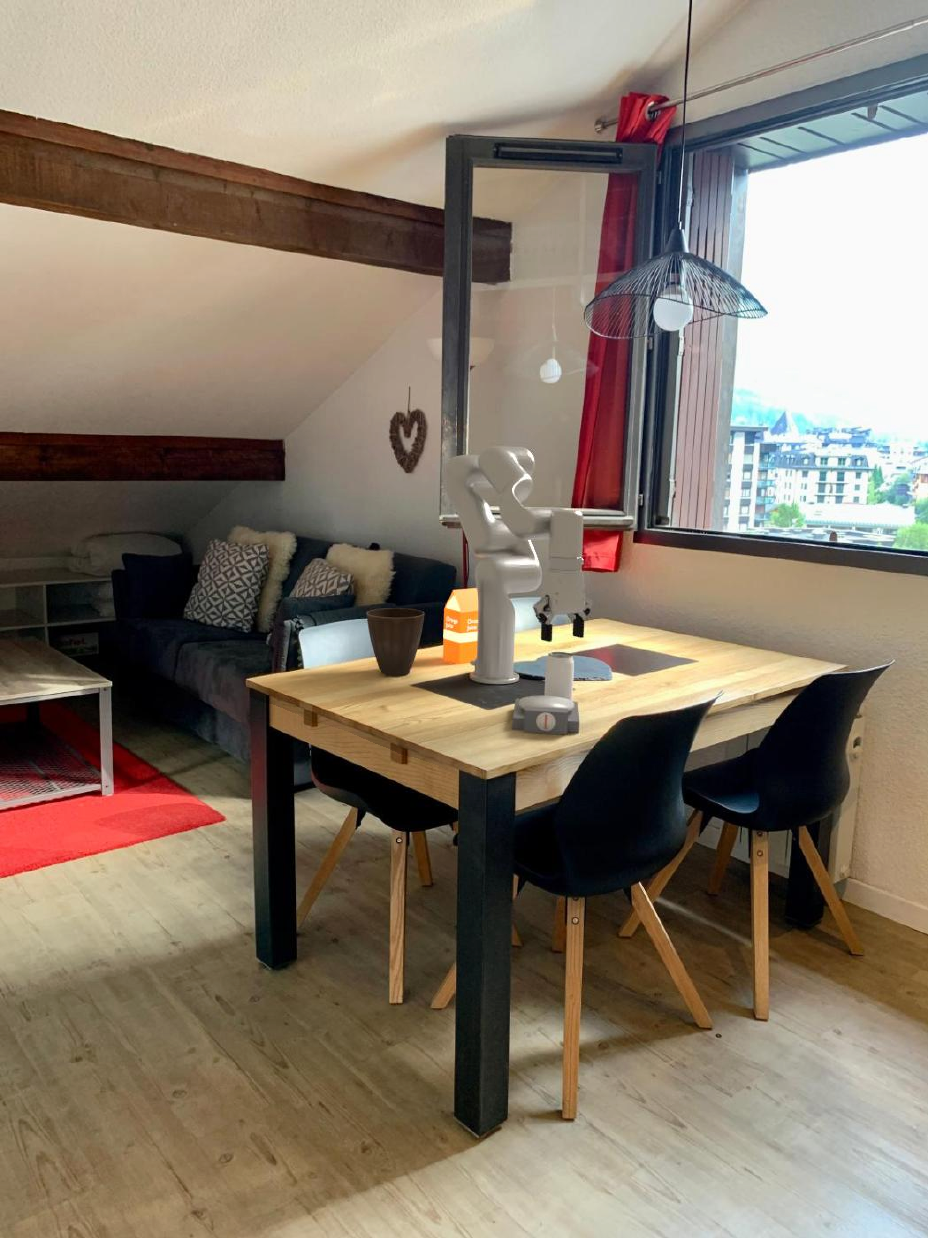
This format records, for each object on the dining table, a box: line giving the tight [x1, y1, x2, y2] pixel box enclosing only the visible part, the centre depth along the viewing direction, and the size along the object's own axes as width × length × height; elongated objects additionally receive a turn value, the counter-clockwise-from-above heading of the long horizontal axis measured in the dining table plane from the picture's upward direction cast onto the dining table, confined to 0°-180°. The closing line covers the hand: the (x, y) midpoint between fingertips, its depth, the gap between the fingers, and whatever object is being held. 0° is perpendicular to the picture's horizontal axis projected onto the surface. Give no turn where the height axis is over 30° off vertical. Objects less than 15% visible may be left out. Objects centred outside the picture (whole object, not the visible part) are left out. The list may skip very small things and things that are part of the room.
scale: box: [511, 695, 580, 735], centre depth 206 cm, size 18×14×5 cm
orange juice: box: [442, 587, 478, 665], centre depth 263 cm, size 8×9×20 cm
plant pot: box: [365, 607, 425, 677], centre depth 246 cm, size 15×15×16 cm
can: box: [544, 651, 575, 702], centre depth 220 cm, size 6×6×12 cm
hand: (562, 638), depth 218 cm, fingers open, 9 cm apart
